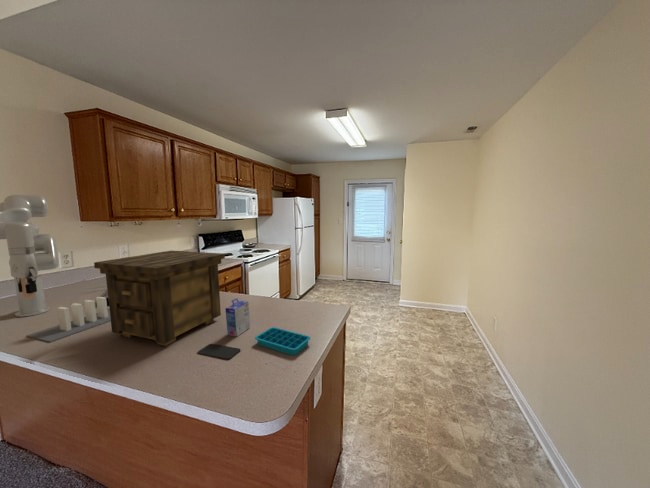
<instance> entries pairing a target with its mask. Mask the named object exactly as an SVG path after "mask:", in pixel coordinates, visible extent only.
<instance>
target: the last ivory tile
mask: <svg viewBox="0 0 650 488" xmlns="http://www.w3.org/2000/svg"><path fill="white" fill-rule="evenodd" d="M57 317H58V322H59V323H58V325H60V329H61V330H65V331H68V330H71V322H70V321H71V314H70V309H69V307H65V306H59V307H57Z"/></svg>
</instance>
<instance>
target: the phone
mask: <svg viewBox="0 0 650 488" xmlns="http://www.w3.org/2000/svg"><path fill="white" fill-rule="evenodd" d="M241 351H242V350H241V348H237V347H232V346H226V345H221V344H215V343H209V344H207V345H205V346H203V348H201V349H199V350H198V351H197V354H198V355H202V356H207V357H211V358H216V359H220V360H224V361H225V360H226V361H229V360H232V359H233V358H234V357H236V356H237V355H238V354H239V353H240V352H241Z"/></svg>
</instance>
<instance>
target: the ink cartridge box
mask: <svg viewBox="0 0 650 488" xmlns="http://www.w3.org/2000/svg"><path fill="white" fill-rule="evenodd" d="M235 301H236V302H235ZM231 303H232V304H230V305H229V306H227V307H226V308H224V309H225V319H226V320H225V321H226V329H227V332H226V333H227V336H232V337H238V336H240V335H242V333H244V332H245V331H247V330H248V329H250V328H251V319H250V318H251V317H250V306H249V305H250V303H249V301H245V300H244V301H243V300H239V299H238V298H237V297H236V298H233V299H232V300H231Z"/></svg>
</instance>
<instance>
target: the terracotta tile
mask: <svg viewBox="0 0 650 488" xmlns="http://www.w3.org/2000/svg"><path fill="white" fill-rule="evenodd" d="M27 277H31V275H30V276H27ZM20 279H21V285H22V292H23V297H26V298H33V297H35V296H34V292H33V293H29V294H27V293H26V287H25V285H26V281H25V278H20ZM29 279H31V278H29ZM29 279H28V280H29Z"/></svg>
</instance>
